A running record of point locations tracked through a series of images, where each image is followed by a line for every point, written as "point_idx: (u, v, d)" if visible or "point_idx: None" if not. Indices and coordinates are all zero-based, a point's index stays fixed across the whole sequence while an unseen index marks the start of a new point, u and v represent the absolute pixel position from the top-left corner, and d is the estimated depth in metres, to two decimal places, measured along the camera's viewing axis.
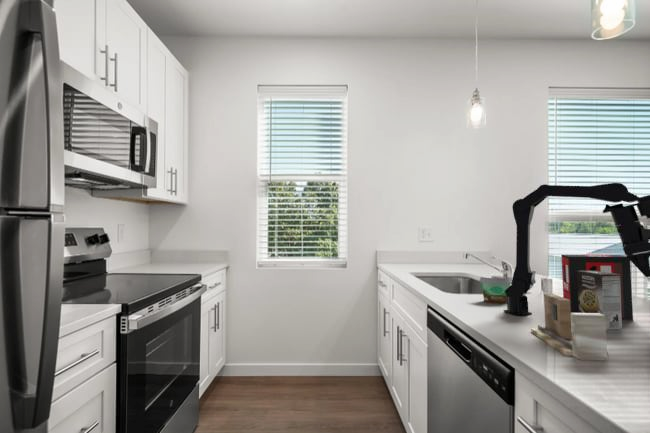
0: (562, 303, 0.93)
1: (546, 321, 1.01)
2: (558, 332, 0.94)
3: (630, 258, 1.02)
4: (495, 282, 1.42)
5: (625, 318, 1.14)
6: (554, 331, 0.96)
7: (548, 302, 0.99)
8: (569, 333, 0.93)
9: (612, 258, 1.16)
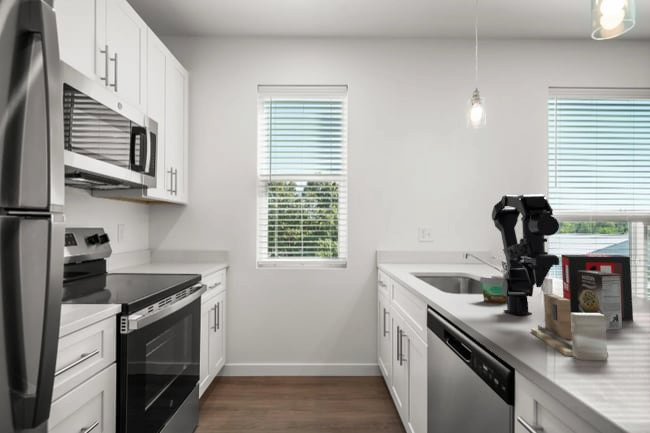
0: (562, 303, 0.93)
1: (546, 321, 1.01)
2: (558, 332, 0.94)
3: None
4: (495, 282, 1.42)
5: (625, 318, 1.14)
6: (554, 331, 0.96)
7: (548, 302, 0.99)
8: (569, 333, 0.93)
9: (612, 258, 1.15)
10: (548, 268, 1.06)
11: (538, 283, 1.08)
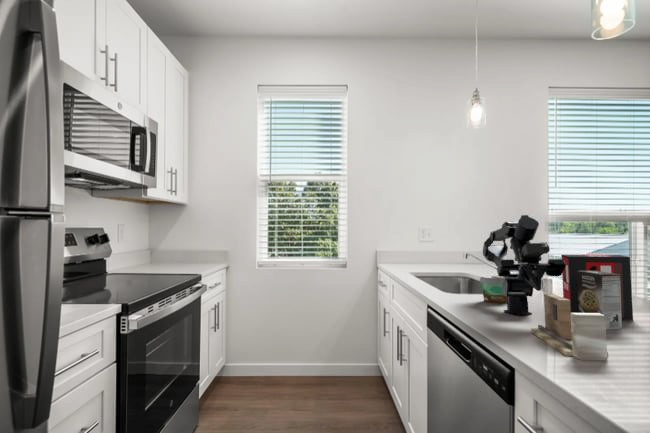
0: (562, 303, 0.93)
1: (546, 321, 1.01)
2: (558, 332, 0.94)
3: (523, 278, 1.14)
4: (495, 282, 1.42)
5: (625, 318, 1.14)
6: (554, 331, 0.96)
7: (548, 302, 0.99)
8: (569, 333, 0.93)
9: (612, 258, 1.16)
10: None
11: None
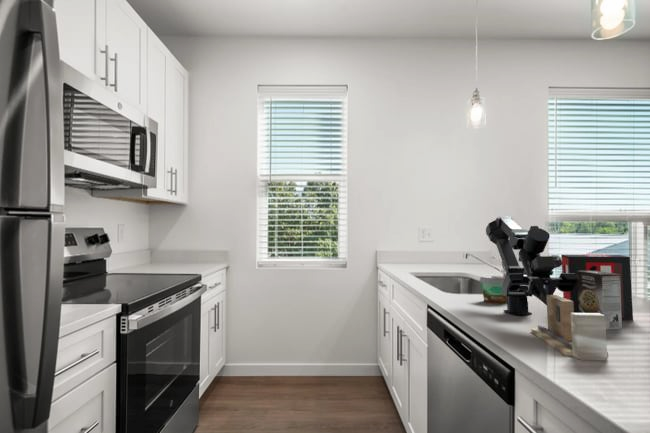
0: (565, 305, 0.92)
1: (549, 322, 0.99)
2: (560, 334, 0.93)
3: (533, 293, 1.07)
4: (495, 282, 1.42)
5: (625, 318, 1.14)
6: (557, 333, 0.95)
7: (551, 303, 0.98)
8: None
9: (612, 258, 1.16)
10: None
11: None
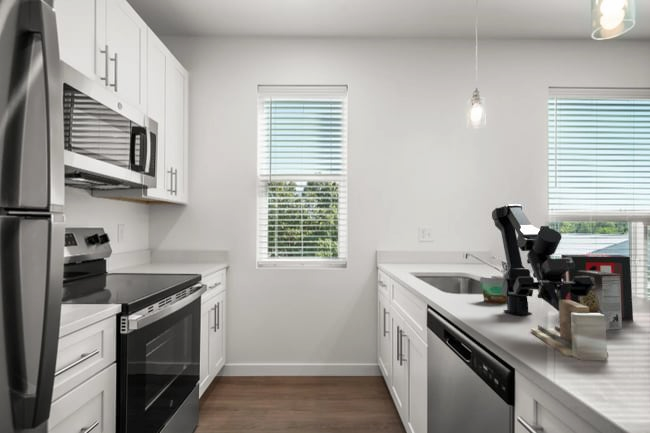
0: (580, 311, 0.85)
1: (561, 330, 0.93)
2: None
3: (543, 298, 1.00)
4: (495, 282, 1.42)
5: (625, 318, 1.14)
6: (571, 341, 0.88)
7: (564, 309, 0.91)
8: None
9: (612, 258, 1.16)
10: None
11: None
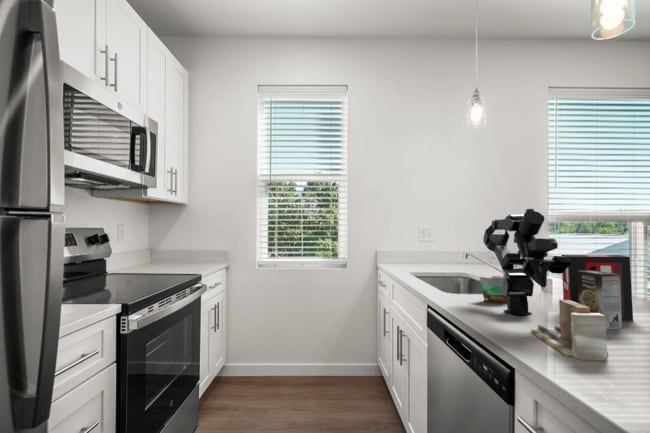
0: (581, 311, 0.84)
1: (562, 330, 0.92)
2: None
3: (526, 273, 1.11)
4: (495, 282, 1.42)
5: (625, 318, 1.14)
6: (571, 341, 0.88)
7: (564, 309, 0.91)
8: None
9: (612, 258, 1.16)
10: None
11: None
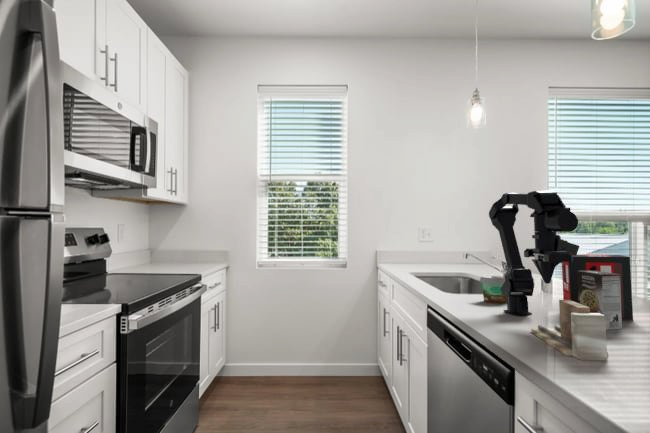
0: (581, 311, 0.84)
1: (562, 330, 0.92)
2: None
3: (541, 264, 1.07)
4: (495, 282, 1.42)
5: (625, 318, 1.14)
6: (571, 341, 0.88)
7: (564, 309, 0.91)
8: None
9: (612, 258, 1.16)
10: None
11: None
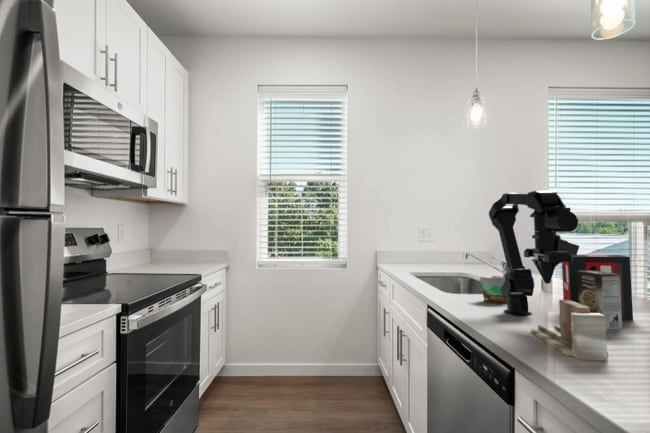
0: (581, 311, 0.84)
1: (562, 330, 0.92)
2: None
3: (541, 264, 1.07)
4: (495, 282, 1.42)
5: (625, 318, 1.14)
6: (571, 341, 0.88)
7: (564, 309, 0.91)
8: None
9: (612, 258, 1.16)
10: None
11: None
